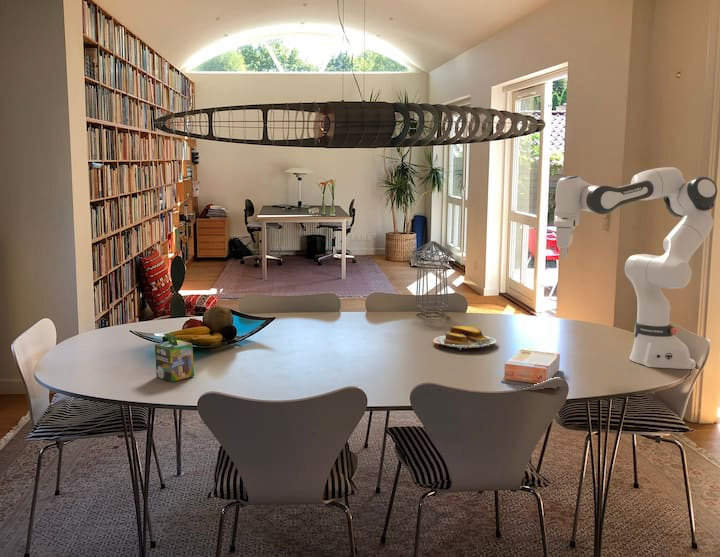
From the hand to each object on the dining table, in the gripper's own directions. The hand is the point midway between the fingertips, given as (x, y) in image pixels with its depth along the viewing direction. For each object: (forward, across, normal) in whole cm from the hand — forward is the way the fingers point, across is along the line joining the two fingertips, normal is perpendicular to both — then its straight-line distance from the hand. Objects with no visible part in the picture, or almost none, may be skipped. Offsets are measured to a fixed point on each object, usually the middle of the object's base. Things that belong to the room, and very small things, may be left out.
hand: (564, 258), depth 267 cm
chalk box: (+38, +79, -116) cm, 145 cm away
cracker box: (+34, +20, -4) cm, 40 cm away
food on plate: (+38, -1, -36) cm, 52 cm away
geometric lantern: (+37, -51, -64) cm, 91 cm away
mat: (+37, +32, -5) cm, 49 cm away
